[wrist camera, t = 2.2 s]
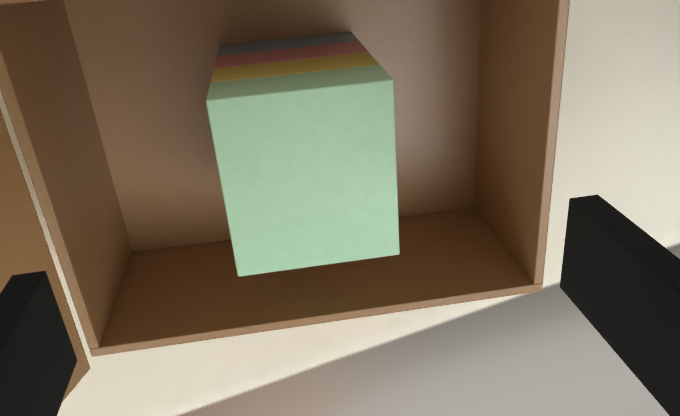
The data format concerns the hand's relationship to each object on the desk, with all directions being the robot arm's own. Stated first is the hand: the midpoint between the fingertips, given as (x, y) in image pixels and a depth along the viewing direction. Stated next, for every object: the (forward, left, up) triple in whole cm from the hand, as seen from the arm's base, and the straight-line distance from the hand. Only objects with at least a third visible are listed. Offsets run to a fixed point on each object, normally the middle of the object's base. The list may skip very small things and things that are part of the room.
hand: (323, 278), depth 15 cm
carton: (0, 0, -15) cm, 15 cm away
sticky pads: (0, 0, -15) cm, 15 cm away
